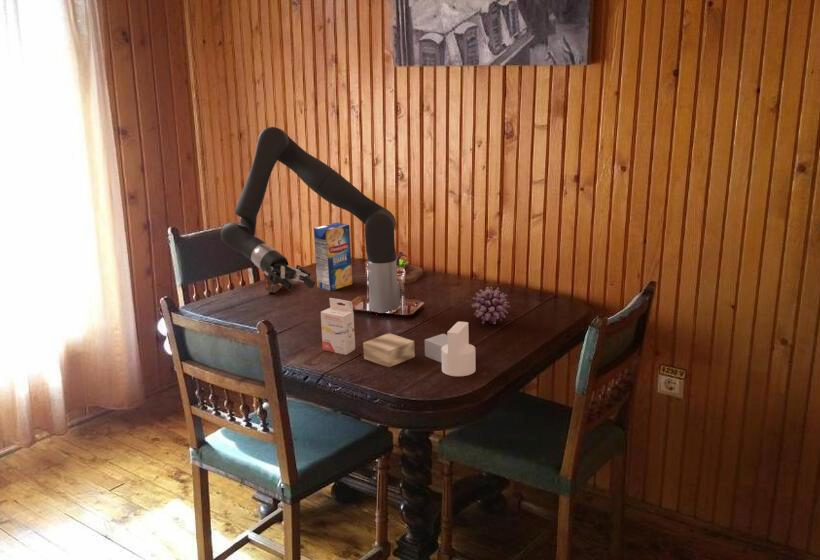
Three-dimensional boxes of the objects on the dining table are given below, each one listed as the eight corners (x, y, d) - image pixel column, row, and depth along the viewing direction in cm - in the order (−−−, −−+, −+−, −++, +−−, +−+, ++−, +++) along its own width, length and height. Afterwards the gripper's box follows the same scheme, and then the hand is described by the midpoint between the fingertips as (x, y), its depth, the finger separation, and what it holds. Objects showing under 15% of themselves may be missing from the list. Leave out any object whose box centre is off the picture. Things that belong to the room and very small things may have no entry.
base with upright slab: (469, 378, 212) (469, 334, 208) (437, 373, 215) (436, 331, 212) (479, 365, 220) (479, 323, 216) (448, 361, 223) (447, 320, 220)
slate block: (443, 350, 232) (443, 333, 230) (460, 356, 227) (460, 339, 225) (424, 356, 228) (424, 339, 226) (441, 363, 222) (441, 346, 221)
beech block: (389, 349, 234) (389, 333, 232) (414, 357, 227) (414, 341, 226) (363, 359, 227) (363, 342, 226) (389, 368, 220) (388, 351, 219)
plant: (381, 268, 318) (379, 240, 315) (428, 272, 311) (427, 243, 308) (360, 282, 300) (358, 253, 297) (410, 286, 293) (409, 256, 290)
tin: (272, 295, 287) (270, 272, 284) (263, 295, 287) (261, 272, 285) (286, 283, 301) (285, 261, 298) (278, 283, 301) (277, 261, 299)
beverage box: (317, 287, 294) (313, 228, 288) (339, 280, 302) (336, 222, 296) (329, 291, 290) (326, 230, 284) (352, 284, 297) (349, 225, 291)
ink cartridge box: (321, 350, 234) (318, 301, 230) (331, 344, 238) (329, 296, 234) (346, 355, 230) (343, 305, 225) (356, 349, 234) (353, 300, 230)
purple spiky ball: (473, 330, 246) (472, 293, 242) (470, 318, 257) (470, 281, 254) (511, 329, 246) (511, 292, 242) (507, 317, 257) (507, 280, 254)
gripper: (254, 250, 242) (288, 277, 233) (290, 248, 253) (323, 274, 244) (247, 272, 244) (281, 300, 236) (282, 269, 255) (316, 295, 247)
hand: (302, 286), depth 240 cm, fingers open, 8 cm apart
